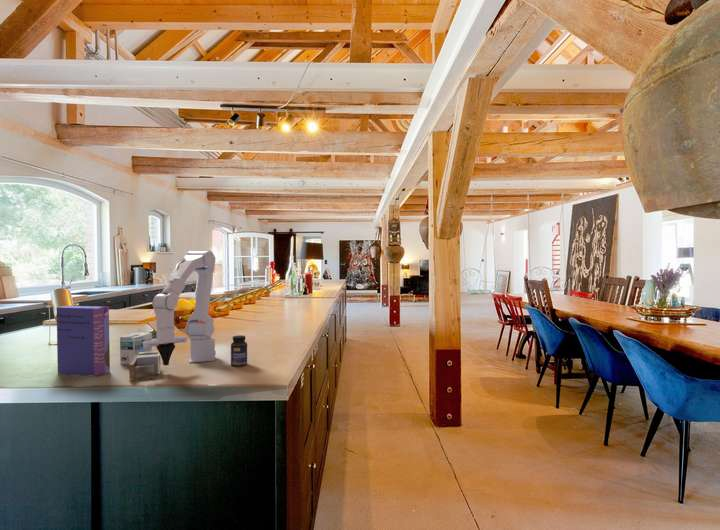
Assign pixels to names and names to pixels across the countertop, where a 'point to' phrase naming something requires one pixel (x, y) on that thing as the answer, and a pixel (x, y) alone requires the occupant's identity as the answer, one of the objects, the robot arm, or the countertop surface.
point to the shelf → (141, 368)
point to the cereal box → (83, 340)
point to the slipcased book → (150, 361)
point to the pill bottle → (239, 351)
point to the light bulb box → (133, 346)
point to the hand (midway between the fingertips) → (165, 364)
